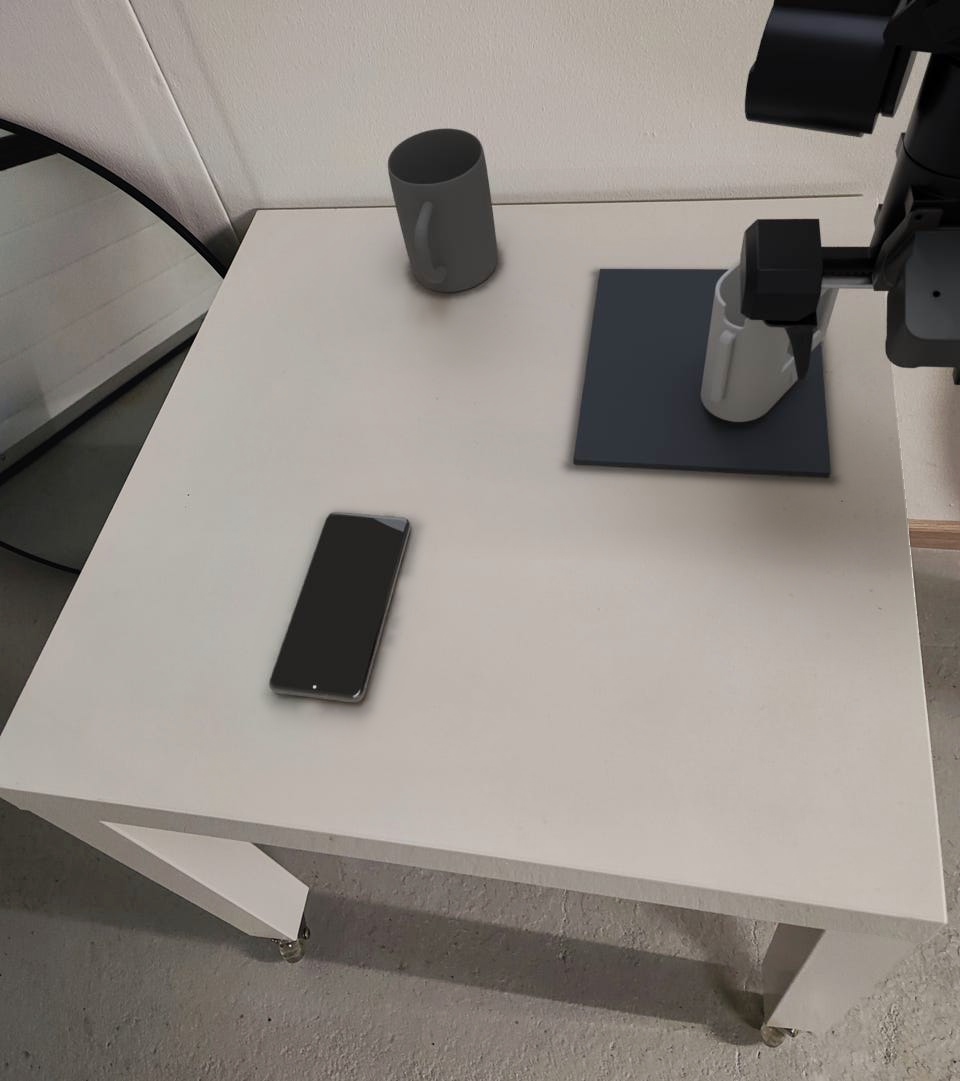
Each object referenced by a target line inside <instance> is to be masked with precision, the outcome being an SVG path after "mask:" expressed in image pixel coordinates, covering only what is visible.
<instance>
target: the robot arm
mask: <svg viewBox="0 0 960 1081" xmlns="http://www.w3.org/2000/svg"><path fill="white" fill-rule="evenodd" d="M918 53H927V54H930V55H929V58H928V61H927V65H926V68H925V71H924V73H923V76H922V77H923V78H922V80H921V82H920V86H919V89H918V92H917V96H916V98H915V99H916V100H915V103H914V106H913V107H912V112H911V114H910V118H909V121H908V124H907V127H906V131H904V132H903V131H902V132H900V134H899V138H898V140H897V144H896V147H895V150H894V152H895V158H896V162H895V165H894V168H893V171H892V173H891V178H890V181H889V183H888V187H887V190H886V193H885V196H884V199H883V202H882V203H878V205H877V208H876V210H875V214H874V218H873V226H874V231H873V234H872V236H871V240H870V243H869V245H868V246H822V236H821V224H820V218H757V219H756V220H754V222H752V223H751V225H749V226H748V227H747V228H746V229H745V230H744V232H743V238H742V242H741V249H740V254H739V255H740V256H739V257H740V258H739V260H740V313H741V314H743V315H744V316H745V317H747V318H748V319H750V320H763V322H764V324H765V325H767V326H769V327H779V328H784V329H785V330H786V332H787V335H788V337H789V339H790V342H791V346H792V350H793V356H794V361H795V366H796V372H797V377H798V380H805V378H806V375H807V372H808V370H809V366H810V358H811V350H812V342H813V333H814V329H815V328H816V327H817V312H816V309H817V306H818V302H819V299H820V295H821V288H839V289H842V290H843V289H845V290H848V289H849V290H850V289H851V290H853V289H854V290H856V289H858V290H861V289H863V290H873V292H887V295H886V338H885V342H884V350H885V355H886V358H887V359H888V361H889V362H890V363H891V364H892V365H894V366H896V367H899V368H902V369H904V368H905V369H917V368H950V369H951V368H953V370H952V373H951V377H952V381H953V385H955V386H960V0H773V2H772V7H771V10H770V11H769V15H768V17H767V20H766V23H765V25H764V28H763V32H762V36H761V38H760V42H759V46H758V50H757V53H756V57H755V61H754V62H753V63H752V65H751V67H750V69H749V71H748V75H747V80H746V86H745V96H744V115H745V119H746V120H747V122H754V123H760V124H767V125H773V126H780V127H788V128H794V129H801V130H808V131H814V132H821V133H826V134H835V135H841V136H848V137H854V138H855V137H856V138H862V137H863V136H864V135H873V133H874V130H875V127H876V124H877V122H878V119H879V115H881V117H883V118H891V119H893V118H894V117H895V115H896V114H897V111H898V109H899V107H900V104H901V101H902V99H903V96H904V94H905V91H906V88H907V85H908V83H909V80H910V76H911V74H912V71H913V68H914V64H915V61H916V59H917V56H918Z"/></svg>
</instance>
